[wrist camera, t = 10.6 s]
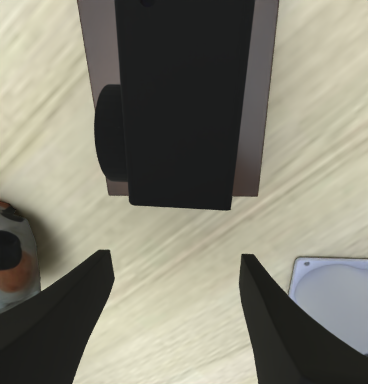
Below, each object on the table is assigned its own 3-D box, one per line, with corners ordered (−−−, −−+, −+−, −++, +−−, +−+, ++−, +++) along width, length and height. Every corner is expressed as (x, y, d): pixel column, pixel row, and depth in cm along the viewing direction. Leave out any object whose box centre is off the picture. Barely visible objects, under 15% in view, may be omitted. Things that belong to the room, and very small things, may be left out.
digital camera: (131, -33, 12) (51, -176, 6) (236, -34, 12) (278, -185, 5) (140, 161, 16) (100, 205, 10) (219, 164, 16) (231, 212, 9)
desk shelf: (265, -45, 15) (290, -99, 11) (246, 176, 21) (258, 197, 17) (99, -34, 16) (63, -79, 12) (126, 176, 22) (108, 196, 17)
